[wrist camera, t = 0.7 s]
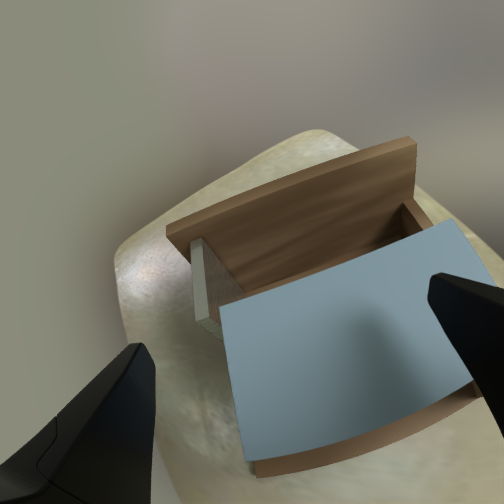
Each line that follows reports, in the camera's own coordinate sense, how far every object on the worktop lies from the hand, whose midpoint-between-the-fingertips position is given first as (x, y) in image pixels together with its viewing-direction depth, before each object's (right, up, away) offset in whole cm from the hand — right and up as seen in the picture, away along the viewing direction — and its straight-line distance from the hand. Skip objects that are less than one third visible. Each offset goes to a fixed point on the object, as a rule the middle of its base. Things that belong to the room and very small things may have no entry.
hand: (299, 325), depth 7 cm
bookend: (-2, -4, +14) cm, 15 cm away
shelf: (+6, -5, +11) cm, 13 cm away
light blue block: (+6, -6, +9) cm, 12 cm away
